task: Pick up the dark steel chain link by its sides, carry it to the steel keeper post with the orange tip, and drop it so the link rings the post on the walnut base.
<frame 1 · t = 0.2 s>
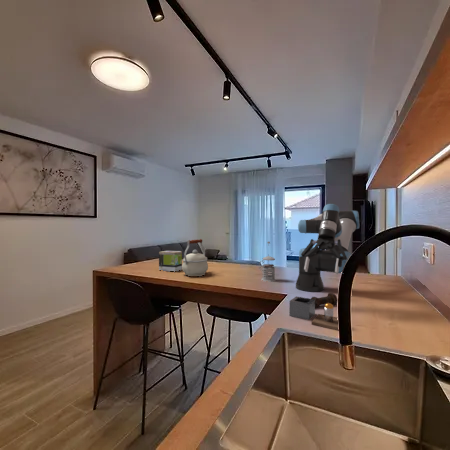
hand: (320, 271, 118), 16 cm above the breakfast bar, tool tilted 35°, fingers open, 13 cm apart
tea box: (170, 270, 203), on the breakfast bar
kettle: (196, 274, 188), on the breakfast bar
keeper post: (328, 311, 100), on the keeper base, point 4 cm above the breakfast bar
keeper base: (328, 323, 100), on the breakfast bar
french press: (267, 280, 172), on the breakfast bar
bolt: (320, 306, 120), on the breakfast bar
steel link: (302, 314, 108), on the breakfast bar
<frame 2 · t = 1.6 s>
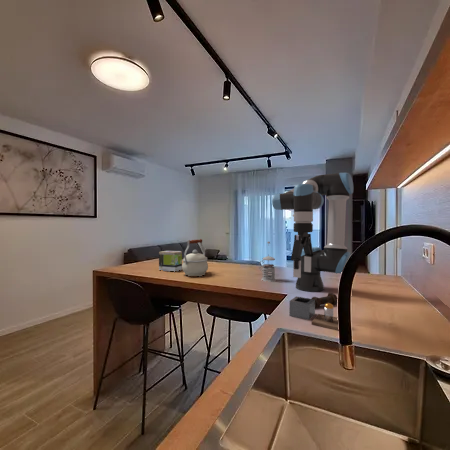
hand: (302, 274, 108), 17 cm above the breakfast bar, tool pointing down, fingers open, 13 cm apart
nothing on the breakfast bar moved.
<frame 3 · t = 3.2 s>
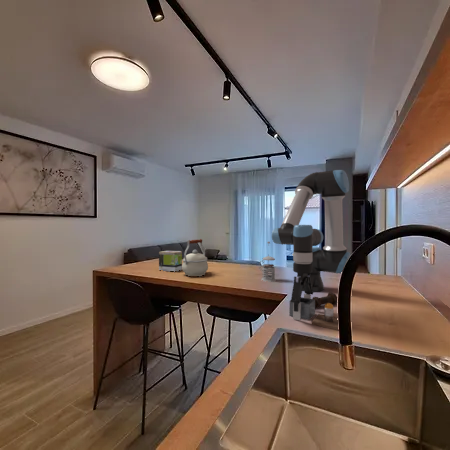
hand: (302, 314, 108), 0 cm above the breakfast bar, tool pointing down, fingers open, 13 cm apart
nothing on the breakfast bar moved.
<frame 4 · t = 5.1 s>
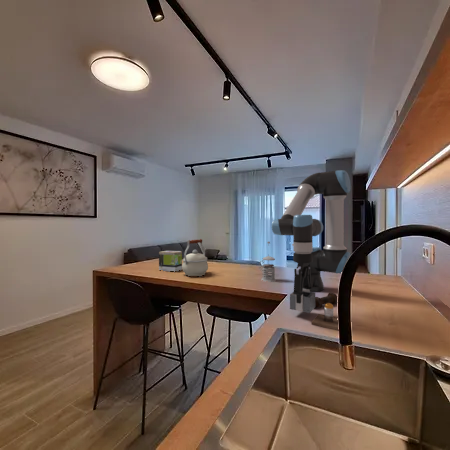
hand: (302, 307, 109), 3 cm above the breakfast bar, tool pointing down, fingers closed on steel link, 8 cm apart
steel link: (302, 308, 109), point 3 cm above the breakfast bar, touching gripper
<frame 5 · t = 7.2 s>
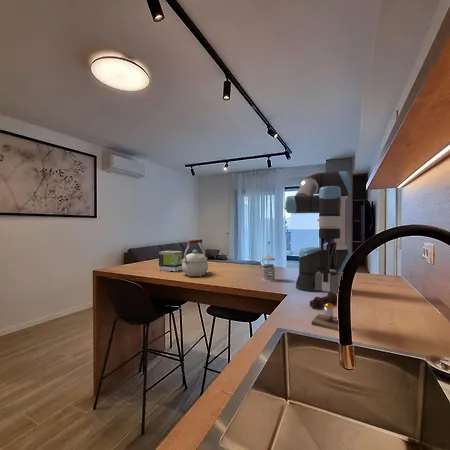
hand: (328, 288, 99), 13 cm above the breakfast bar, tool pointing down, fingers closed on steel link, 8 cm apart
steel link: (328, 288, 99), point 13 cm above the breakfast bar, touching gripper
when the fingers open (3 cm above the breakfast bar, at t = 9.6 s): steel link drops 1 cm, resting on keeper base.
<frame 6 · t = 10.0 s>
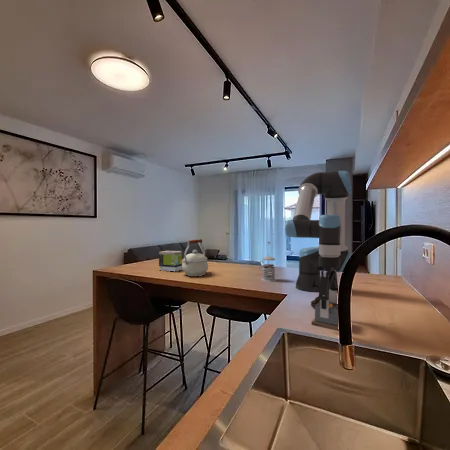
hand: (328, 312, 100), 4 cm above the breakfast bar, tool pointing down, fingers open, 13 cm apart
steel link: (328, 320, 100), point 1 cm above the breakfast bar, touching keeper base
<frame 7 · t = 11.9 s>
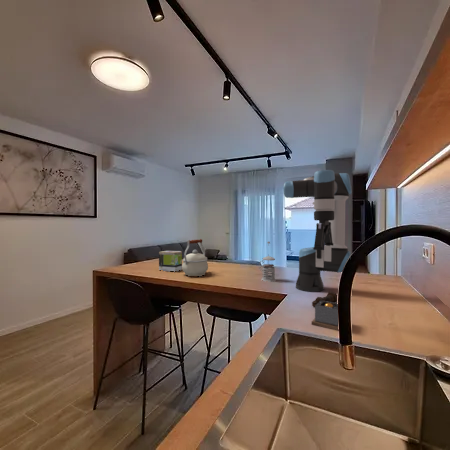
hand: (323, 264, 105), 21 cm above the breakfast bar, tool pointing down, fingers open, 13 cm apart
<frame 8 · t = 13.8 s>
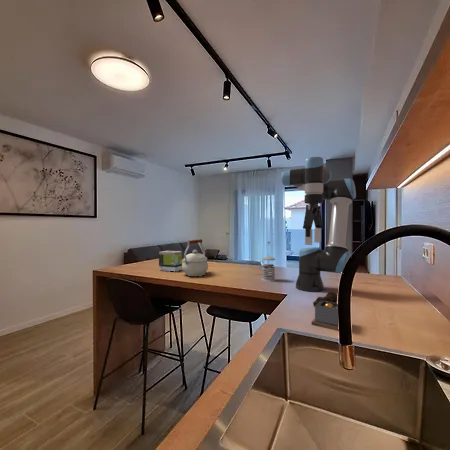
hand: (313, 243, 113), 29 cm above the breakfast bar, tool pointing down, fingers open, 13 cm apart
at the end: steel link 0.0 cm off-centre on the keeper post, point 1.0 cm above the keeper post's base; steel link tilted 0°; the gripper is holding nothing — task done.
